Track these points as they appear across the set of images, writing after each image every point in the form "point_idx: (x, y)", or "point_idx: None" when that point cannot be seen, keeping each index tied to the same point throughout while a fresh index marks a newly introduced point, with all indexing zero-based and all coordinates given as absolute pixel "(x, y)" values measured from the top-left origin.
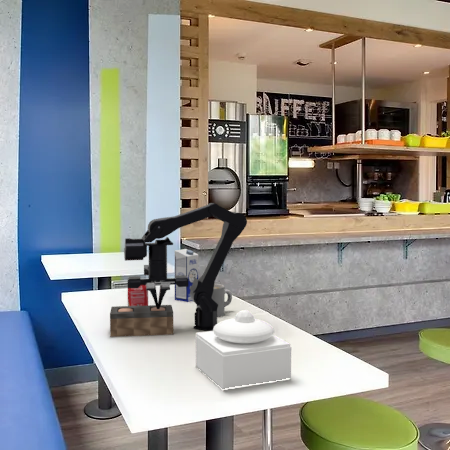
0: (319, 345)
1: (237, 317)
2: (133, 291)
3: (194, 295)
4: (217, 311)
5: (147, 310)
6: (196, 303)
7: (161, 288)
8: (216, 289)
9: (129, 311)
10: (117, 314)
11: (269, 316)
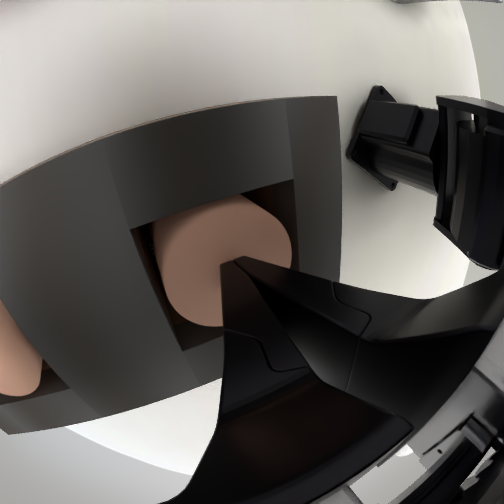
0: (466, 259)
1: (397, 455)
2: None
3: (485, 266)
4: (420, 1)
5: (157, 350)
6: (454, 233)
7: (387, 459)
8: (498, 2)
9: (38, 381)
10: (32, 428)
11: (473, 56)
